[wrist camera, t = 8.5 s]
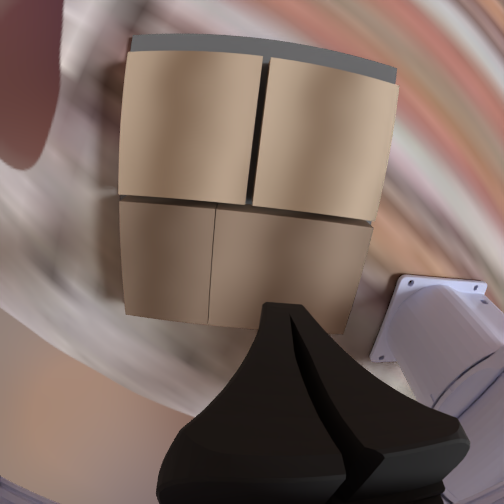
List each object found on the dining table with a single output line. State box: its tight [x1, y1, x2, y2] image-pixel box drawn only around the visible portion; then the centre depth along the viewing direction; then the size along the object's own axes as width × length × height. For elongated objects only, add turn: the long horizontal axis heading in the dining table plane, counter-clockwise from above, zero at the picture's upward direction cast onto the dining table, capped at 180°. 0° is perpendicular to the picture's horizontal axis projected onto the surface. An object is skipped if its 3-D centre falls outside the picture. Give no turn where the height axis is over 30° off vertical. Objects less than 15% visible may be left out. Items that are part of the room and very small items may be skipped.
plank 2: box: [252, 57, 399, 221], centre depth 17 cm, size 7×8×2 cm
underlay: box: [120, 34, 397, 225], centre depth 19 cm, size 16×18×1 cm
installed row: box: [119, 195, 374, 334], centre depth 20 cm, size 15×8×2 cm, turn 83°
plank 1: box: [118, 51, 263, 205], centre depth 16 cm, size 7×8×2 cm
